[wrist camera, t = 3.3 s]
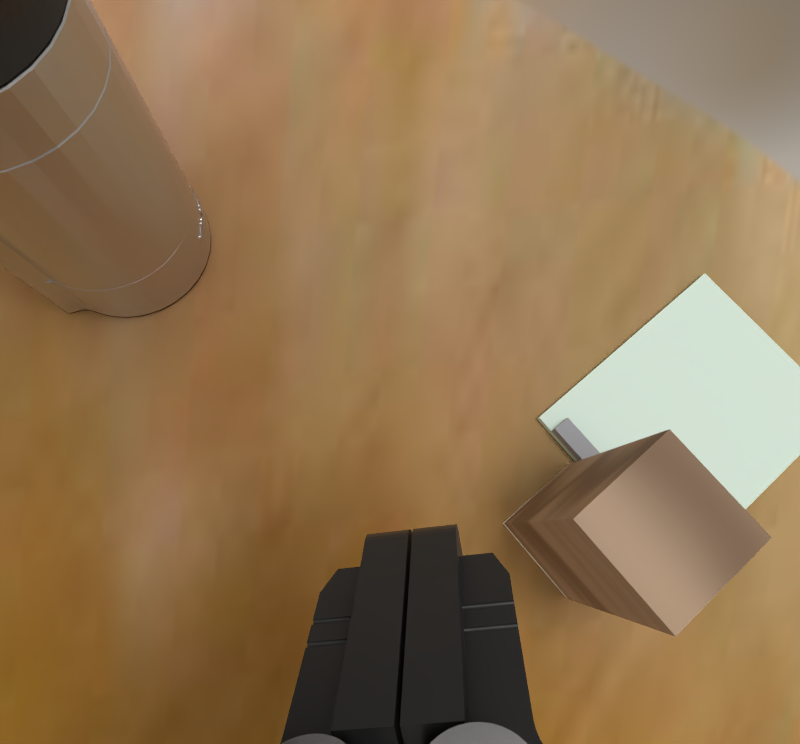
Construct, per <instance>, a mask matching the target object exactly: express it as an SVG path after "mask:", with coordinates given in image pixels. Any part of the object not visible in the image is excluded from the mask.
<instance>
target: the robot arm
mask: <svg viewBox="0 0 800 744" xmlns="http://www.w3.org/2000/svg"><path fill="white" fill-rule="evenodd" d="M210 242H211V235H210V229H209V224H208V221H207V218H206V216H205V214H204V212H203V210H202V208H201V206H200V203H199V201H198V199H197V197H196V195H195V193H194V191H193V190H192V188H191V186H190V185H189V183H188V182H187V180H186V178H185V176H184V174H183V172H182V170H181V168H180V166H179V165H178V163H177V161H176V159H175V157H174V155H173V153H172V152H171V150H170V148H169V146H168V144H167V142H166V140H165V139H164V137H163V135H162V133H161V131H160V129H159V127H158V126H157V124H156V122H155V120H154V118H153V116H152V114H151V112H150V111H149V109H148V107H147V105H146V103H145V101H144V99H143V98H142V96H141V94H140V92H139V90H138V88H137V86H136V85H135V83H134V81H133V79H132V77H131V75H130V73H129V72H128V70H127V68H126V66H125V64H124V62H123V60H122V59H121V57H120V55H119V53H118V51H117V49H116V47H115V46H114V44H113V42H112V40H111V38H110V36H109V34H108V33H107V31H106V29H105V27H104V25H103V23H102V22H101V20H100V18H99V16H98V14H97V12H96V10H95V9H94V7H93V5H92V3H91V1H90V0H0V265H1V266H2V267H4V268H5V269H6V270H8V271H9V272H11V273H12V274H14V275H15V276H16V277H18V278H19V279H21V280H22V281H23V282H25V283H26V284H28V285H29V286H30V287H32V288H33V289H35V290H36V291H37V292H39V293H40V294H42V295H43V296H45V297H46V298H47V299H49V300H50V301H52V302H53V303H54V304H56V305H57V306H59V307H60V308H61V309H63V310H64V311H66V312H68V313H72V312H75V311H79V310H85V309H87V310H92V311H95V312H99V313H102V314H105V315H108V316H119V317H131V316H141V315H145V314H149V313H152V312H155V311H159V310H161V309H163V308H165V307H166V306H168V305H170V304H172V303H174V302H175V301H177V300H178V299H179V298H181V297H182V296H183V295H184V294H186V293H187V292H188V291H189V290H190V288H191V287H192V286H193V285H194V284H195V283H196V281H197V280H198V279H199V277H200V275H201V273H202V272H203V270H204V268H205V266H206V263H207V260H208V256H209V253H210ZM307 643H308V647H307V648H306V649H305V653H304V657H303V660H302V664H301V668H300V672H299V676H298V680H297V683H296V687H295V691H294V695H293V699H292V703H291V707H290V710H289V714H288V718H287V722H286V726H285V730H284V734H283V737H282V740H281V743H280V744H542V742H541V740H540V738H539V736H538V734H537V731H536V729H535V725H534V721H533V715H532V709H531V703H530V697H529V691H528V685H527V679H526V673H525V667H524V661H523V654H522V648H521V642H520V636H519V630H518V624H517V618H516V612H515V606H514V600H513V594H512V587H511V581H510V575H509V573H508V572H507V570H506V569H505V568H504V567H503V565H502V564H501V563H500V562H499V560H498V559H497V558H496V557H495V555H494V554H493V553H485V554H476V555H466V556H462V550H461V544H460V538H459V532H458V527H457V524H455V525H446V526H437V527H428V528H419V529H413V532H412V531H411V530H403V531H394V532H385V533H376V534H368V535H367V536H366V539H365V544H364V549H363V555H362V560H361V566H360V567H353V568H344V569H338V570H337V571H336V573H335V574H334V575H333V577H332V578H331V579H330V580H329V582H328V583H327V584H326V586H325V587H324V588H323V590H322V591H321V592H320V595H319V599H318V603H317V606H316V610H315V614H314V618H313V625H312V626H311V630H310V633H309V637H308V641H307Z"/></svg>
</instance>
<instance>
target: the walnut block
mask: <svg viewBox="0 0 800 744" xmlns="http://www.w3.org/2000/svg"><path fill="white" fill-rule="evenodd" d="M503 524H504V526H505V527H506V528H507V529H508V530H509V532H510V533H511V534H512V535H513V536H514V537H515V539H516V540H517V541H518V542H519V543H520V544H521V546H522V547H523V548H524V549H525V550H526V552H527V553H528V554H529V555H530V556H531V557H532V559H533V560H534V561H535V562H536V563H537V565H538V566H539V567H540V568H541V569H542V570H543V572H544V573H545V574H546V575H547V576H548V578H549V579H550V580H551V581H552V582H553V583H554V585H555V586H556V587H557V588H558V589H559V591H560V592H561V593H562V594H563V595H564V596H565V598H568V599H570V600H573V601H576V602H579V603H582V604H585V605H588V606H590V607H593V608H596V609H599V610H602V611H605V612H607V613H610V614H613V615H616V616H619V617H622V618H625V619H627V620H630V621H633V622H636V623H639V624H642V625H644V626H647V627H650V628H653V629H656V630H659V631H662V632H664V633H667V634H670V635H673V636H677V635H678V634H679V633H680V632H681V631H682V630H683V629H684V628H685V627H686V625H687V624H688V623H689V622H690V621H691V620H692V619H693V618H694V617H695V616H696V615H697V614H698V613H699V612H700V611H701V610H702V609H703V608H704V607H705V606H706V605H707V604H708V603H709V602H710V601H711V600H712V599H713V598H714V597H715V596H716V594H717V593H718V592H719V591H720V590H721V589H722V588H723V587H724V586H725V585H726V584H727V583H728V582H729V581H730V580H731V579H732V578H733V577H734V576H735V575H736V574H737V573H738V572H739V571H740V570H741V569H742V568H743V567H744V566H745V565H746V563H747V562H748V561H749V560H750V559H751V558H752V557H753V556H754V555H755V554H756V553H757V552H758V551H759V550H760V549H761V548H762V547H763V546H764V545H765V544H766V543H767V542H768V541H769V540H770V539H771V538H772V537H771V536H770V535H769V534H768V533H767V532H766V531H765V530H764V529H763V528H762V527H761V526H760V525H759V523H758V522H757V521H756V520H755V519H754V518H753V517H752V516H751V515H750V514H749V513H748V512H747V511H746V510H745V509H744V508H743V506H742V505H741V504H740V503H739V502H738V501H737V500H736V499H735V498H734V497H733V496H732V495H731V494H730V493H729V492H728V491H727V489H726V488H725V487H724V486H723V485H722V484H721V483H720V482H719V481H718V480H717V479H716V478H715V477H714V476H713V475H712V474H711V472H710V471H709V470H708V469H707V468H706V467H705V466H704V465H703V464H702V463H701V462H700V461H699V460H698V459H697V458H696V457H695V455H694V454H693V453H692V452H691V451H690V450H689V449H688V448H687V447H686V446H685V445H684V444H683V443H682V442H681V441H680V440H679V438H678V437H677V436H676V435H675V434H674V433H673V432H672V431H671V430H670V429H669V430H666V431H663V432H660V433H657V434H654V435H651V436H648V437H645V438H643V439H640V440H637V441H634V442H631V443H628V444H625V445H622V446H619V447H617V448H614V449H611V450H608V451H605V452H602V453H599V454H596V455H593V456H591V457H588V458H585V459H582V460H579V461H576V462H573V463H570V464H568V465H567V466H565V467H564V468H563V469H562V470H561V471H560V472H559V473H558V474H557V475H555V476H554V477H553V478H552V479H551V480H550V481H549V482H548V483H547V484H545V485H544V486H543V487H542V488H541V489H540V490H539V491H538V492H537V493H535V494H534V495H533V496H532V497H531V498H530V499H529V500H528V501H527V502H526V503H524V504H523V505H522V506H521V507H520V508H519V509H518V510H517V511H516V512H514V513H513V514H512V515H511V516H510V517H509V518H508V519H507V520H506V521H504V522H503Z"/></svg>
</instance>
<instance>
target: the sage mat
mask: <svg viewBox="0 0 800 744" xmlns="http://www.w3.org/2000/svg"><path fill="white" fill-rule="evenodd" d="M537 420H538V421H539V422H540V423H541V424H542V425H543V427H544V428H545V429H546V430H547V431H548V432H549V433H550V434H551V435H552V437H553V438H554V439H555V440H556V441H557V442H558V443H559V444H560V446H561V447H562V448H563V449H564V450H565V451H566V452H567V453H568V454H569V456H570V457H571V458H572V459H573V460H574V461H575V462H576V461H579V460H582V459H585V458H588V457H591V456H593V455H596V454H599V453H602V452H605V451H608V450H611V449H614V448H617V447H619V446H622V445H625V444H628V443H631V442H634V441H637V440H640V439H643V438H645V437H648V436H651V435H654V434H657V433H660V432H663V431H666V430H669V429H670V430H671V431H672V432H673V433H674V434H675V435H676V436H677V437H678V438H679V440H680V441H681V442H682V443H683V444H684V445H685V446H686V447H687V448H688V449H689V450H690V451H691V452H692V453H693V454H694V455H695V457H696V458H697V459H698V460H699V461H700V462H701V463H702V464H703V465H704V466H705V467H706V468H707V469H708V470H709V471H710V472H711V474H712V475H713V476H714V477H715V478H716V479H717V480H718V481H719V482H720V483H721V484H722V485H723V486H724V487H725V488H726V489H727V491H728V492H729V493H730V494H731V495H732V496H733V497H734V498H735V499H736V500H737V501H738V502H739V503H740V504H741V505H742V506H743V508H744V509H746V508H747V507H748V506H749V505H750V504H751V503H752V502H753V501H754V500H755V499H756V498H757V497H758V496H759V495H760V494H761V493H762V492H763V491H764V490H765V489H766V488H767V487H768V486H769V485H770V484H771V483H772V482H773V481H774V480H775V479H776V478H777V477H778V476H779V475H780V474H781V473H782V472H783V471H784V470H785V469H786V468H787V467H788V466H789V465H790V464H791V463H792V462H793V461H794V460H795V459H796V458H797V457H798V456H799V455H800V367H799V366H798V365H797V364H796V363H795V362H794V361H793V360H792V359H791V358H790V357H789V356H788V355H787V354H786V353H785V352H784V351H783V350H782V349H781V348H780V347H779V346H778V345H777V344H776V343H775V342H774V341H773V340H772V339H771V338H770V337H769V336H768V335H767V334H766V333H765V332H764V331H763V330H762V329H761V328H760V327H759V326H758V325H757V324H756V323H755V322H754V321H753V320H752V319H751V318H750V317H749V316H748V315H747V314H746V313H745V312H744V311H743V310H742V309H741V308H740V307H739V306H738V305H737V304H736V303H735V302H734V301H732V300H731V299H730V298H729V297H728V296H727V295H726V294H725V293H724V292H723V291H722V290H721V289H720V288H719V287H718V286H717V285H716V284H715V283H714V282H713V281H712V280H711V279H710V278H709V277H708V276H707V275H706V274H703V275H702V276H701V277H700V278H698V279H697V280H696V281H695V282H694V283H693V284H692V285H690V286H689V287H688V288H687V289H686V290H685V291H683V292H682V293H681V294H680V295H679V296H678V297H677V298H675V299H674V300H673V301H672V302H671V303H670V304H669V305H667V306H666V307H665V308H664V309H663V310H662V311H660V312H659V313H658V314H657V315H656V316H655V317H654V318H652V319H651V320H650V321H649V322H648V323H647V324H646V325H644V326H643V327H642V328H641V329H640V330H639V331H637V332H636V333H635V334H634V335H633V336H632V337H631V338H629V339H628V340H627V341H626V342H625V343H624V344H623V345H621V346H620V347H619V348H618V349H617V350H616V351H614V352H613V353H612V354H611V355H610V356H609V357H608V358H606V359H605V360H604V361H603V362H602V363H601V364H599V365H598V366H597V367H596V368H595V369H594V370H593V371H591V372H590V373H589V374H588V375H587V376H586V377H585V378H583V379H582V380H581V381H580V382H579V383H578V384H576V385H575V386H574V387H573V388H572V389H571V390H570V391H568V392H567V393H566V394H565V395H564V396H563V397H562V398H560V399H559V400H558V401H557V402H556V403H555V404H553V405H552V406H551V407H550V408H549V409H548V410H547V411H545V412H544V413H543V414H542V415H541V416H540V417H539V418H537Z"/></svg>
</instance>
